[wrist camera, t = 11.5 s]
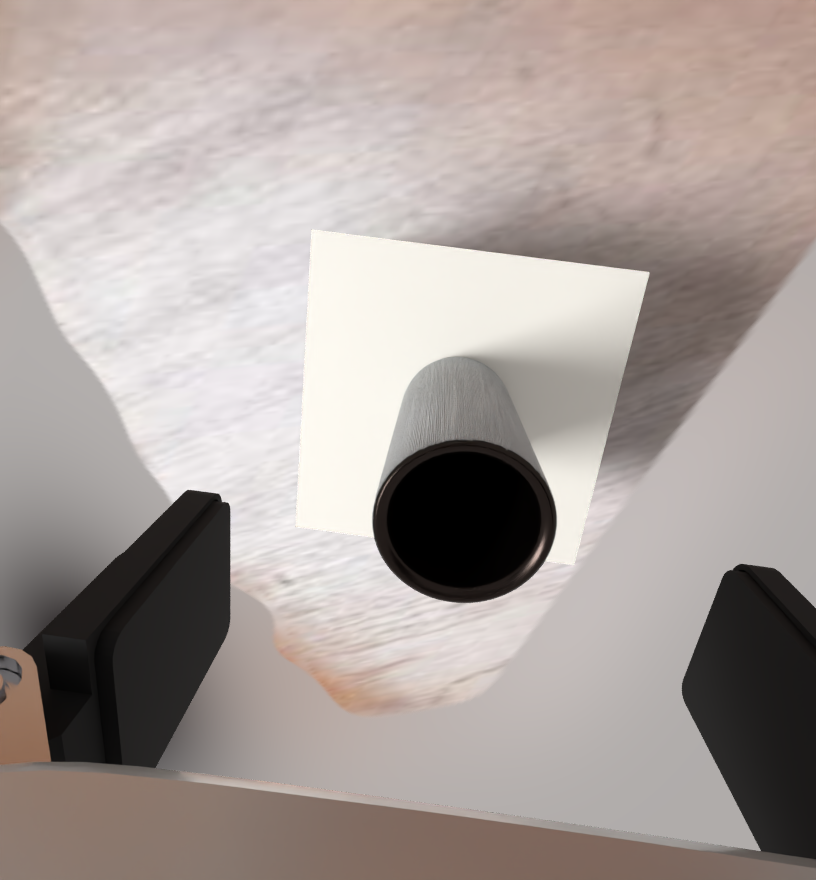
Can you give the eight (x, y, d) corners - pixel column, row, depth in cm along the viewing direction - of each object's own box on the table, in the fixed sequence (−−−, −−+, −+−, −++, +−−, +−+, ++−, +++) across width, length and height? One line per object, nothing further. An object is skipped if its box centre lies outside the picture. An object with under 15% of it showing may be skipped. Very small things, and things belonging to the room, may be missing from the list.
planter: (532, 399, 23) (598, 513, 13) (464, 478, 24) (477, 635, 14) (446, 332, 22) (447, 400, 12) (380, 418, 23) (335, 540, 14)
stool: (349, 234, 29) (311, 229, 21) (590, 264, 29) (649, 272, 21) (332, 456, 34) (295, 527, 25) (541, 485, 34) (574, 565, 25)
